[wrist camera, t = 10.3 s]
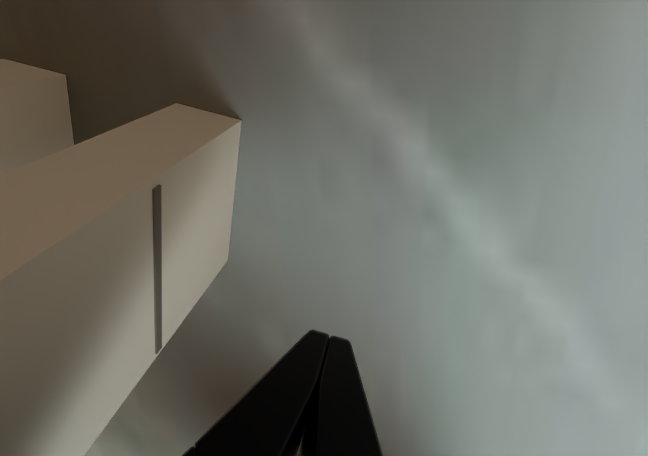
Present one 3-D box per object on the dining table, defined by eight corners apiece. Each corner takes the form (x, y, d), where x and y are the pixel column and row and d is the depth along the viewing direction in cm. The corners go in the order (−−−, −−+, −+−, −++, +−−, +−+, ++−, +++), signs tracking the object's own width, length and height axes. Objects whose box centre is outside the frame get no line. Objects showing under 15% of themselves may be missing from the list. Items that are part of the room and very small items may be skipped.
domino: (243, 120, 12) (-96, 347, 4) (229, 260, 14) (6, 566, 6) (175, 102, 12) (-281, 287, 4) (173, 244, 14) (-112, 524, 7)
